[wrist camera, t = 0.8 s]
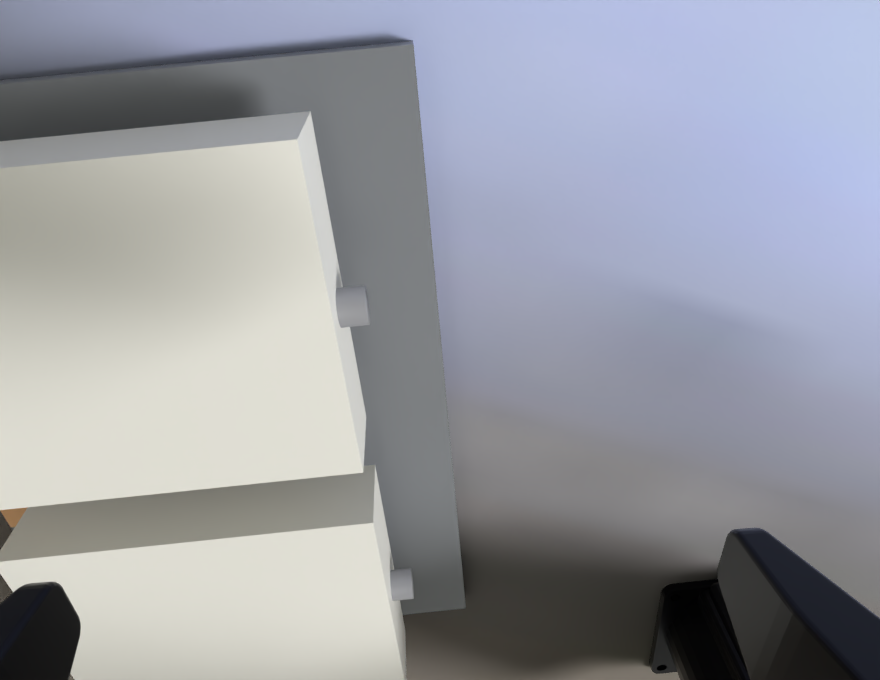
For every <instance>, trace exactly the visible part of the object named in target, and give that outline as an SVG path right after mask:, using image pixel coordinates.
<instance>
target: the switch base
mask: <svg viewBox="0 0 880 680" xmlns="http://www.w3.org/2000/svg"><path fill="white" fill-rule="evenodd" d="M308 111H311V117H312V122H313V128H314V133H315V138H316V144H317V149H318V155H319V160H320V166H321V171H322V177H323V182H324V188H325V193H326V199H327V204H328V210H329V215H330V221H331V226H332V232H333V237H334V242H335V248H336V253H337V259H338V264H339V270H340V275H341V281H342V286H343V287H352V286H362V285H365V286H366V289H367V294H368V301H369V311H370V325H364V326H354V327H350V330H351V336H352V341H353V346H354V352H355V357H356V363H357V368H358V374H359V379H360V385H361V390H362V396H363V401H364V407H365V412H366V432H365V450H364V466H369V465H375V467H376V472H377V478H378V483H379V489H380V494H381V500H382V505H383V511H384V516H385V522H386V527H387V533H388V538H389V544H390V549H391V554H392V560H393V565H394V570H395V569H405V568H411V569H412V577H413V589H414V599H407V600H400V604H401V609H402V615H408V614H417V613H427V612H436V611H446V610H455V609H464V608H466V603H465V593H464V582H463V571H462V560H461V550H460V539H459V528H458V518H457V507H456V496H455V485H454V475H453V464H452V453H451V442H450V432H449V421H448V410H447V400H446V389H445V378H444V367H443V357H442V346H441V335H440V325H439V314H438V303H437V292H436V282H435V271H434V260H433V250H432V239H431V228H430V217H429V207H428V196H427V185H426V175H425V164H424V153H423V142H422V132H421V121H420V110H419V100H418V89H417V78H416V67H415V57H414V46H413V41H404V42H394V43H384V44H373V45H363V46H352V47H342V48H332V49H321V50H311V51H300V52H290V53H280V54H269V55H259V56H248V57H238V58H228V59H217V60H207V61H196V62H186V63H175V64H165V65H155V66H144V67H134V68H123V69H113V70H103V71H92V72H82V73H71V74H61V75H51V76H40V77H30V78H19V79H9V80H0V141H9V140H20V139H30V138H40V137H51V136H61V135H71V134H81V133H92V132H102V131H112V130H123V129H133V128H143V127H154V126H164V125H174V124H184V123H195V122H205V121H215V120H226V119H236V118H246V117H256V116H267V115H277V114H287V113H298V112H308ZM27 508H28V507H26V508H16V509H7V510H0V512H1V513H2V515H3V516H4V518H5V519H6V521H7V522H8V524H9V526H10V527H11V529H12V530H14V528H15V526H16V525H17V523H18V522H19V520H20V519H21V517H22V516H23V514H24V512H25V511H26V509H27Z"/></svg>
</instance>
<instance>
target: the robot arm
mask: <svg viewBox="0 0 880 680" xmlns="http://www.w3.org/2000/svg"><path fill="white" fill-rule="evenodd" d="M717 574H718V579H714V580H704V581H695V582H685V583H676V584H670V585H668V586H666V587H665V588H663V590H662V592H661V597H660V603H659V609H658V614H657V620H656V626H655V632H654V637H653V643H652V649H651V655H650V661H649V663H650V666H651V669H652V671H653V672H654V673H669V672H678V675H679V677H680V680H880V618H879V617H878V616H876V615H875V614H874V613H872V612H871V611H870V610H869V609H867V608H866V607H865V606H863V605H862V604H861V603H859V602H858V601H857V600H855V599H854V598H853V597H852V596H850V595H849V594H848V593H846V592H845V591H844V590H842V589H841V588H840V587H839V586H837V585H836V584H835V583H833V582H832V581H831V580H829V579H828V578H827V577H826V576H824V575H823V574H822V573H820V572H819V571H818V570H816V569H815V568H814V567H812V566H811V565H810V564H809V563H807V562H806V561H805V560H803V559H802V558H801V557H799V556H798V555H797V554H796V553H794V552H793V551H792V550H790V549H789V548H788V547H786V546H785V545H784V544H783V543H781V542H780V541H779V540H777V539H776V538H775V537H773V536H772V535H771V534H769V533H768V532H767V531H765V530H763V529H760V528H745V529H734V530H732V531H731V532H730V533H729V534H728V536H727V538H726V542H725V545H724V548H723V552H722V555H721V558H720V562H719V565H718V573H717ZM80 632H81V623H80V619H79V616H78V614H77V612H76V610H75V609H74V607H73V605H72V603H71V602H70V600H69V598H68V596H67V594H66V593H65V591H64V589H63V587H62V586H61V585H60V584H59V583H57V582H52V581H51V582H38V583H29V584H25V585H23V586H21V587H19V588H18V589H17V590H15V591H14V592H13V593H12V594H11V595H10V596H8V597H7V598H6V599H5V600H4V601H3V602H2V603H0V680H69V677H70V673H71V669H72V665H73V662H74V658H75V654H76V650H77V646H78V642H79V638H80Z"/></svg>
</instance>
